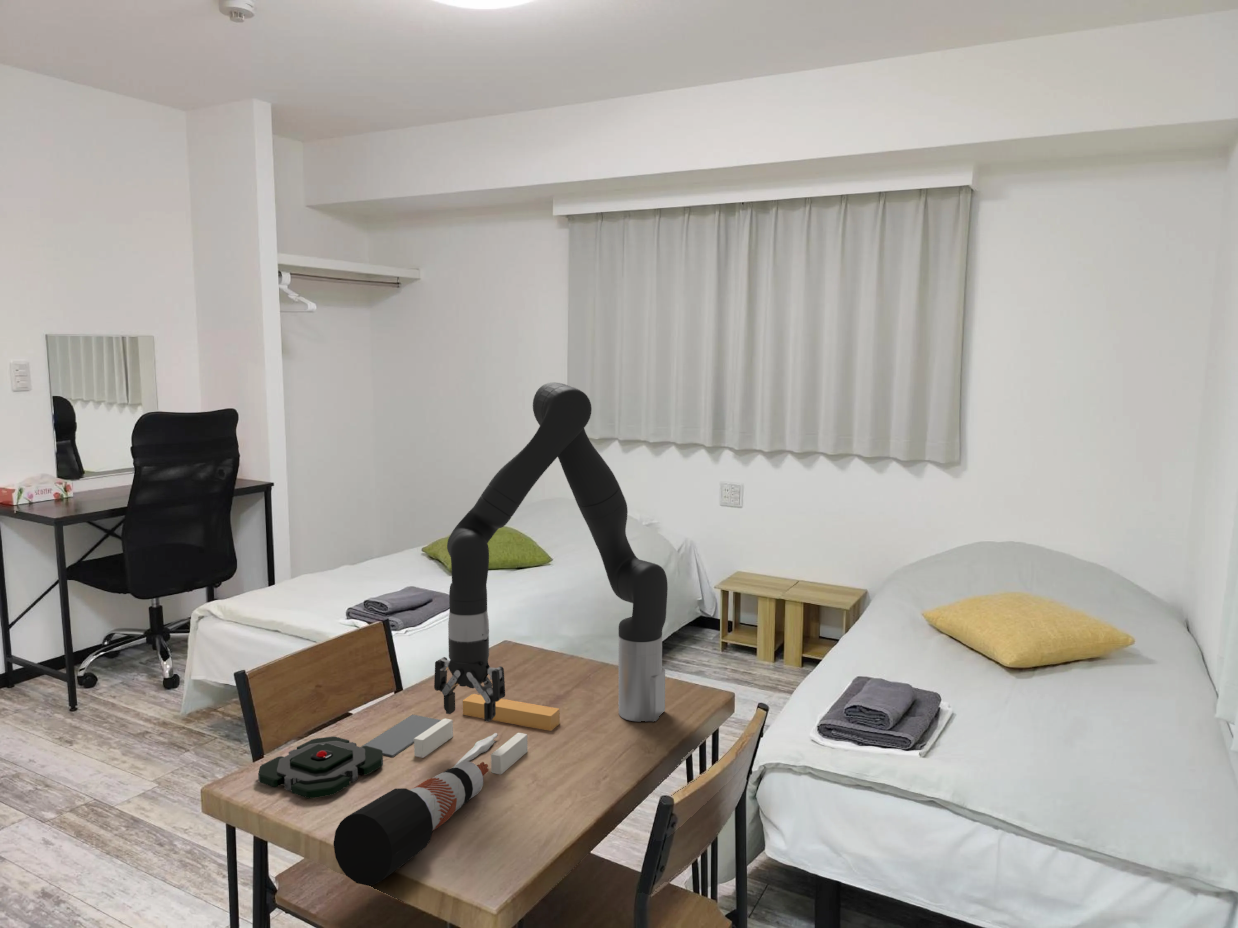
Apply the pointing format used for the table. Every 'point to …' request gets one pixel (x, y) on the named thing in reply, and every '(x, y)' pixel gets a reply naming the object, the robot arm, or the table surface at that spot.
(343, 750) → the flat green button pad
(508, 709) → the bar
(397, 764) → the table surface
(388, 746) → the mat
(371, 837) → the cable
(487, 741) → the white tapered spike
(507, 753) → the rails
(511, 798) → the table surface
